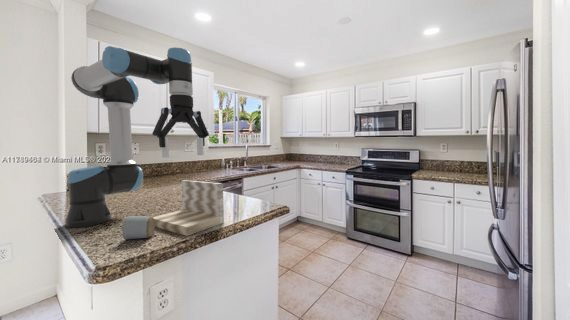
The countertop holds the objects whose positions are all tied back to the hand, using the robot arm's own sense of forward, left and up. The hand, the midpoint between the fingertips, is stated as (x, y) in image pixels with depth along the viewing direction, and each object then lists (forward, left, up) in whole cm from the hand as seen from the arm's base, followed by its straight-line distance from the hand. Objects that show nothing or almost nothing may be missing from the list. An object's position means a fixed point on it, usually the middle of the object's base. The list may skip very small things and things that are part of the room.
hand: (184, 156), depth 86 cm
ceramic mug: (-11, -11, -28) cm, 32 cm away
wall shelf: (-9, +5, -27) cm, 29 cm away
